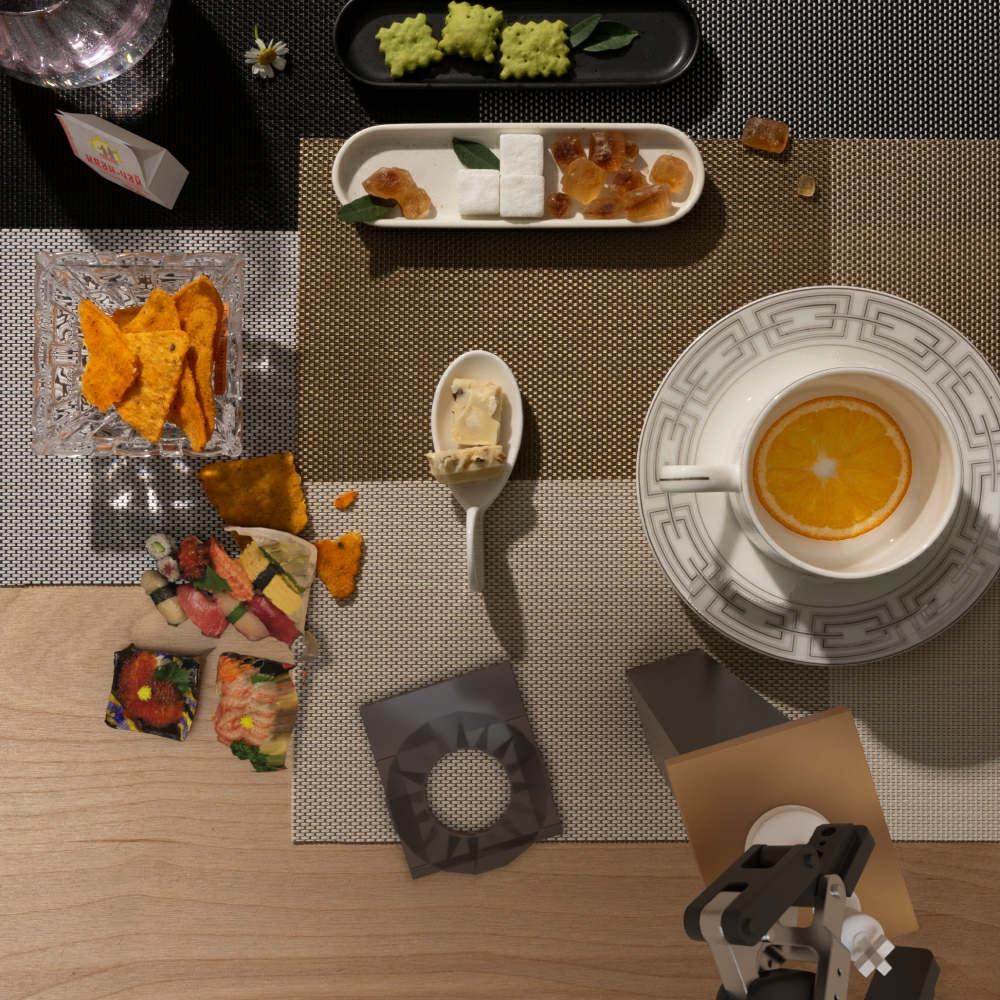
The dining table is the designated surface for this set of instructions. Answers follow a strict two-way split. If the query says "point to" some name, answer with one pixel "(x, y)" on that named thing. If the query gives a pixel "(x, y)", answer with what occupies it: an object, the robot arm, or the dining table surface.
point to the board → (447, 728)
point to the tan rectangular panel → (790, 803)
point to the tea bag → (125, 157)
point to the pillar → (694, 705)
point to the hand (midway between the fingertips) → (881, 893)
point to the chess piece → (857, 926)
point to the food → (235, 599)
